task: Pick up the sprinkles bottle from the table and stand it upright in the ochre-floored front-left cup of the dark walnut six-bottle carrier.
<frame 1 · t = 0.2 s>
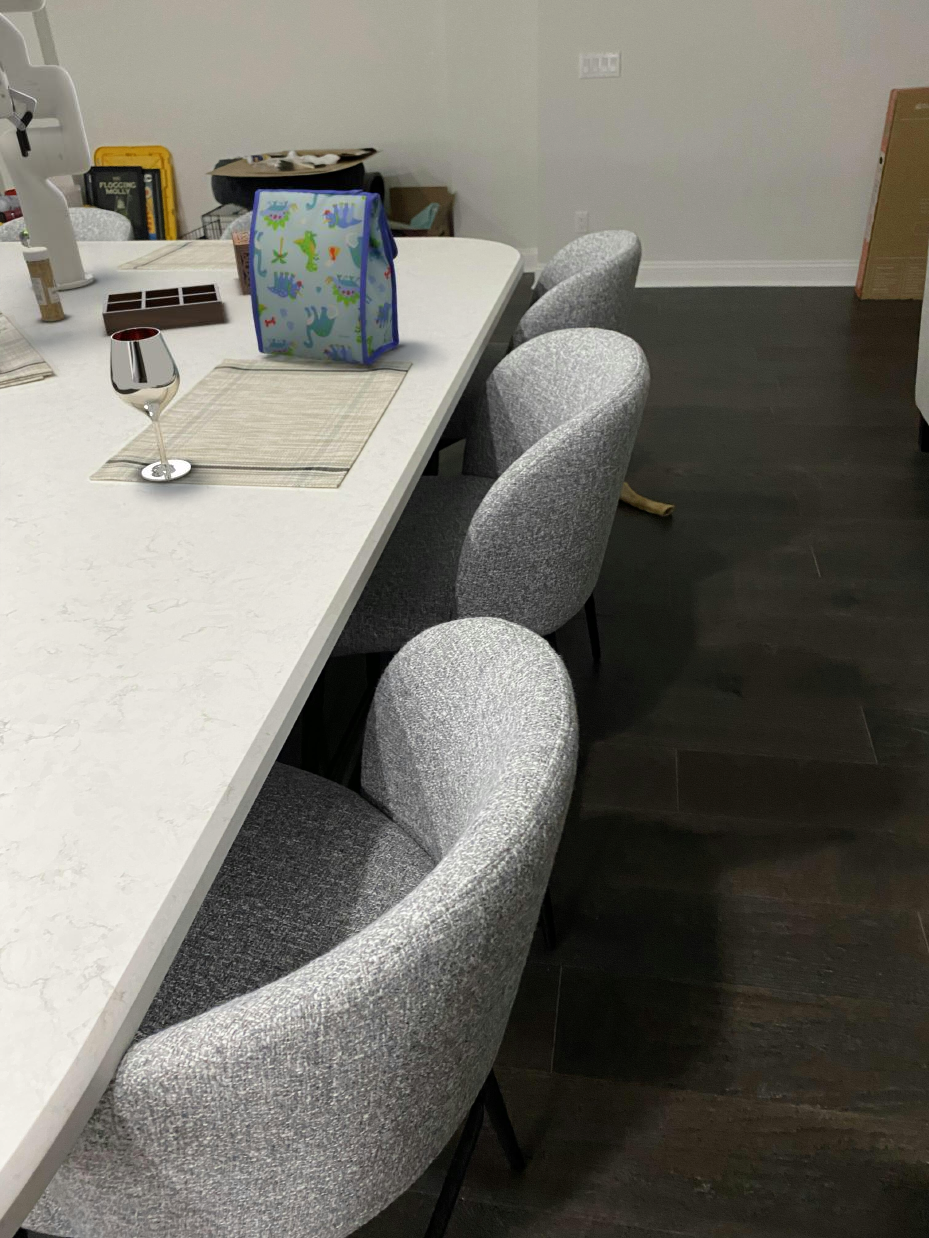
carrier: (166, 318, 183), on the table
tissue box cover: (299, 281, 206), on the table
wineglass: (167, 472, 122), on the table
lunch bag: (332, 351, 163), on the table
sprinkles bottle: (53, 320, 186), on the table
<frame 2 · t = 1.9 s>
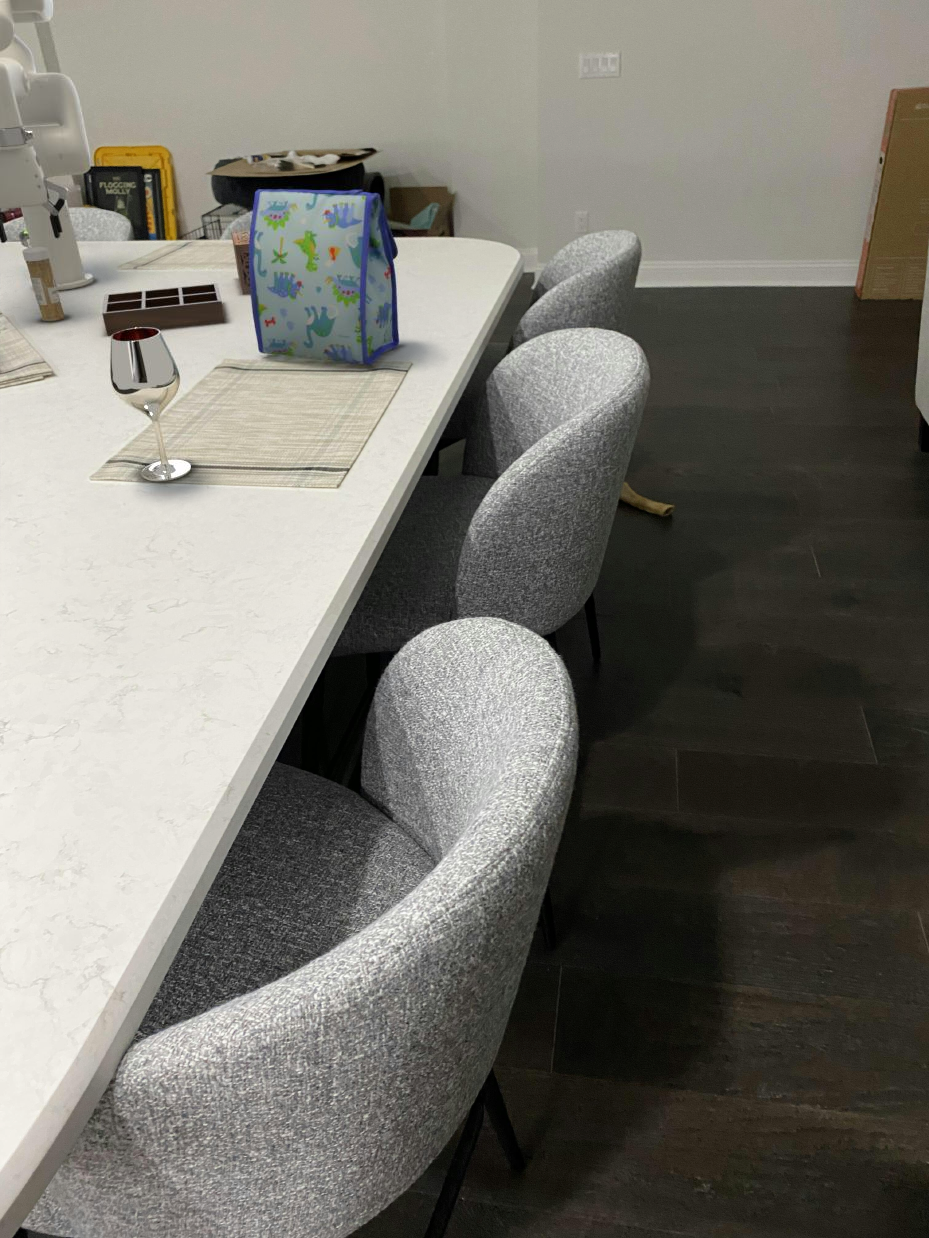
hand: (31, 239, 177), 15 cm above the table, tool pointing down, fingers open, 9 cm apart
nothing on the table moved.
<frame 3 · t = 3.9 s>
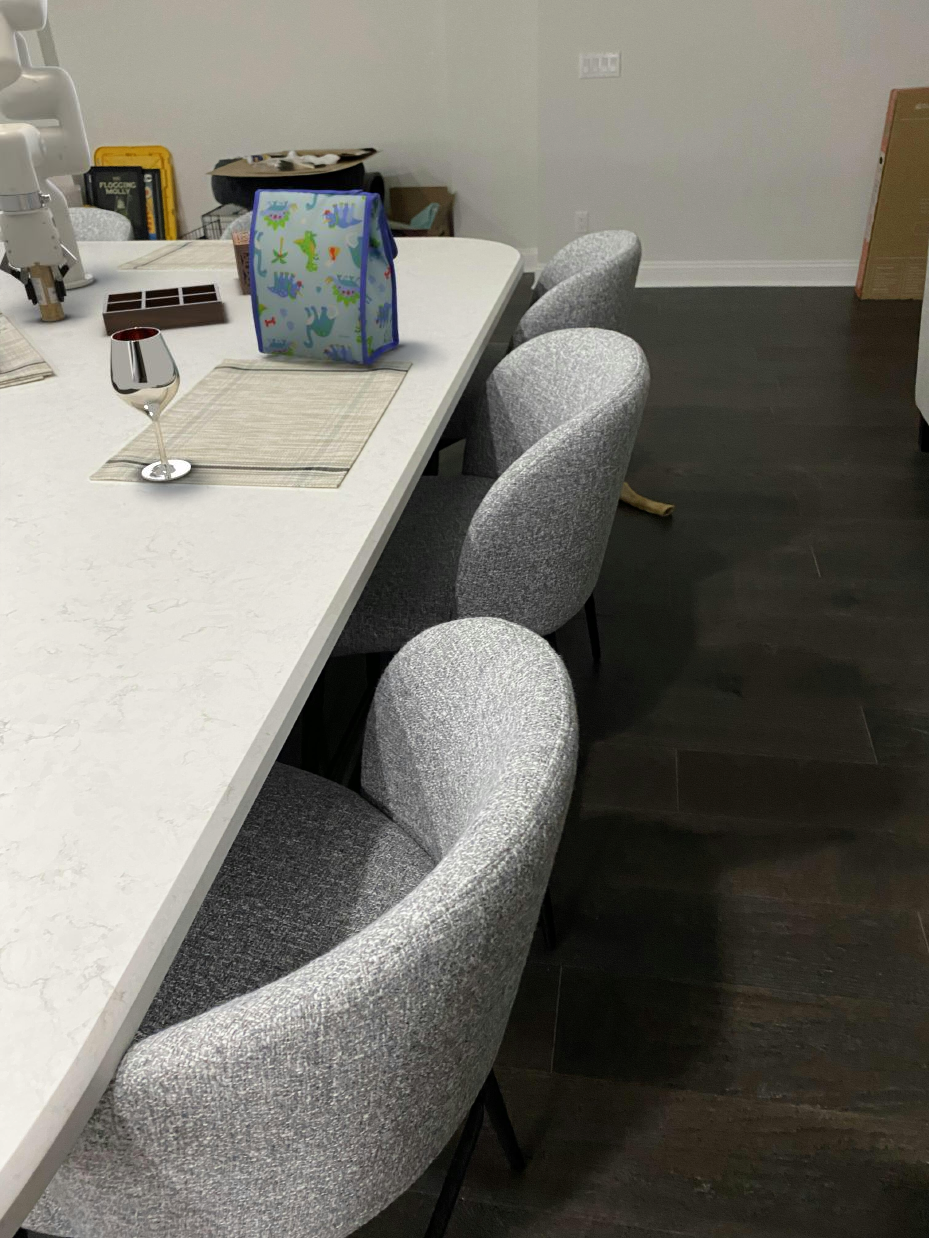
hand: (48, 301, 184), 4 cm above the table, tool pointing down, fingers closed on sprinkles bottle, 4 cm apart
sprinkles bottle: (54, 320, 186), on the table, touching gripper
everything else where it was.
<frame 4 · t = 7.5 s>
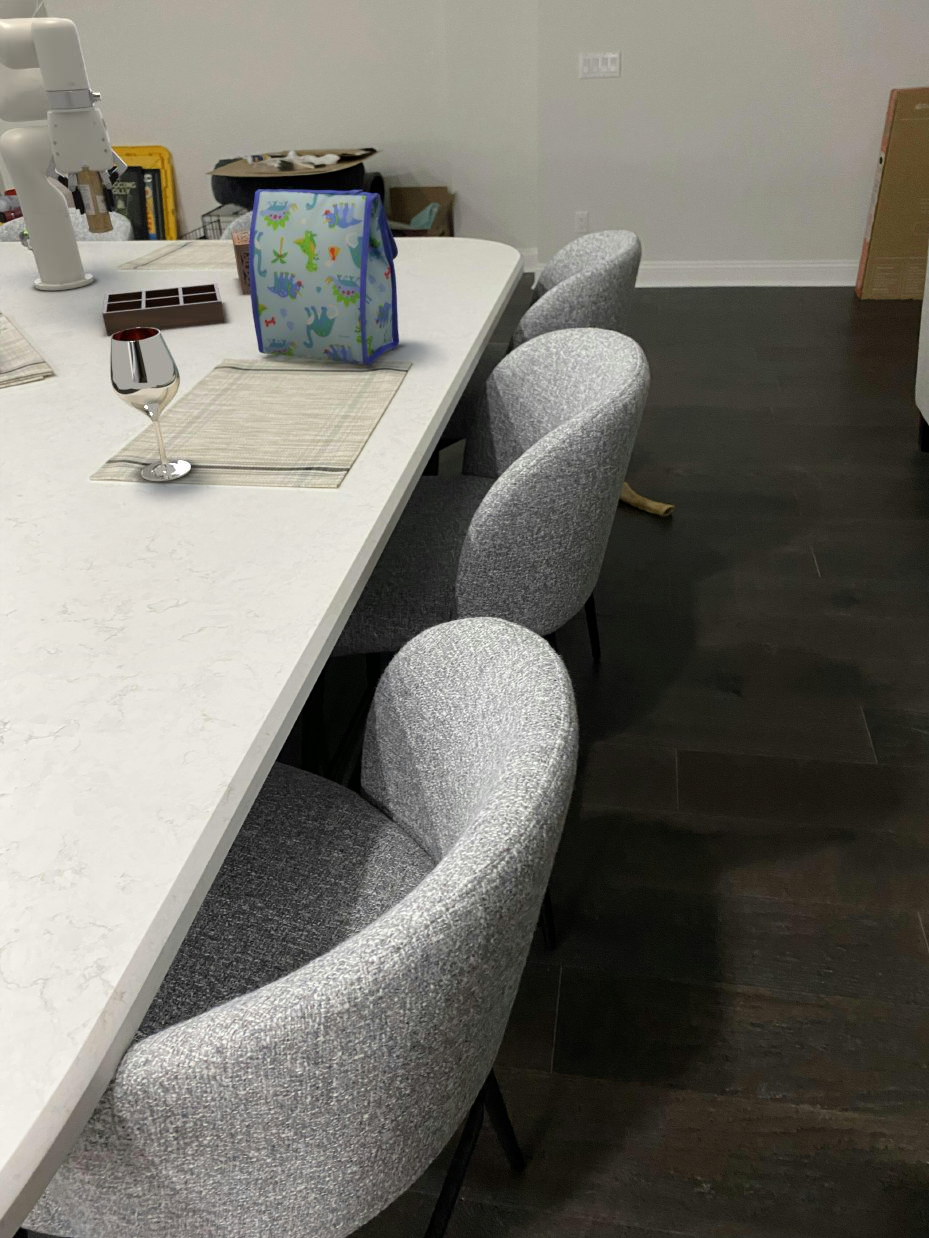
hand: (96, 211, 174), 20 cm above the table, tool pointing down, fingers closed on sprinkles bottle, 4 cm apart
sprinkles bottle: (101, 232, 176), point 16 cm above the table, touching gripper
everything else where it was.
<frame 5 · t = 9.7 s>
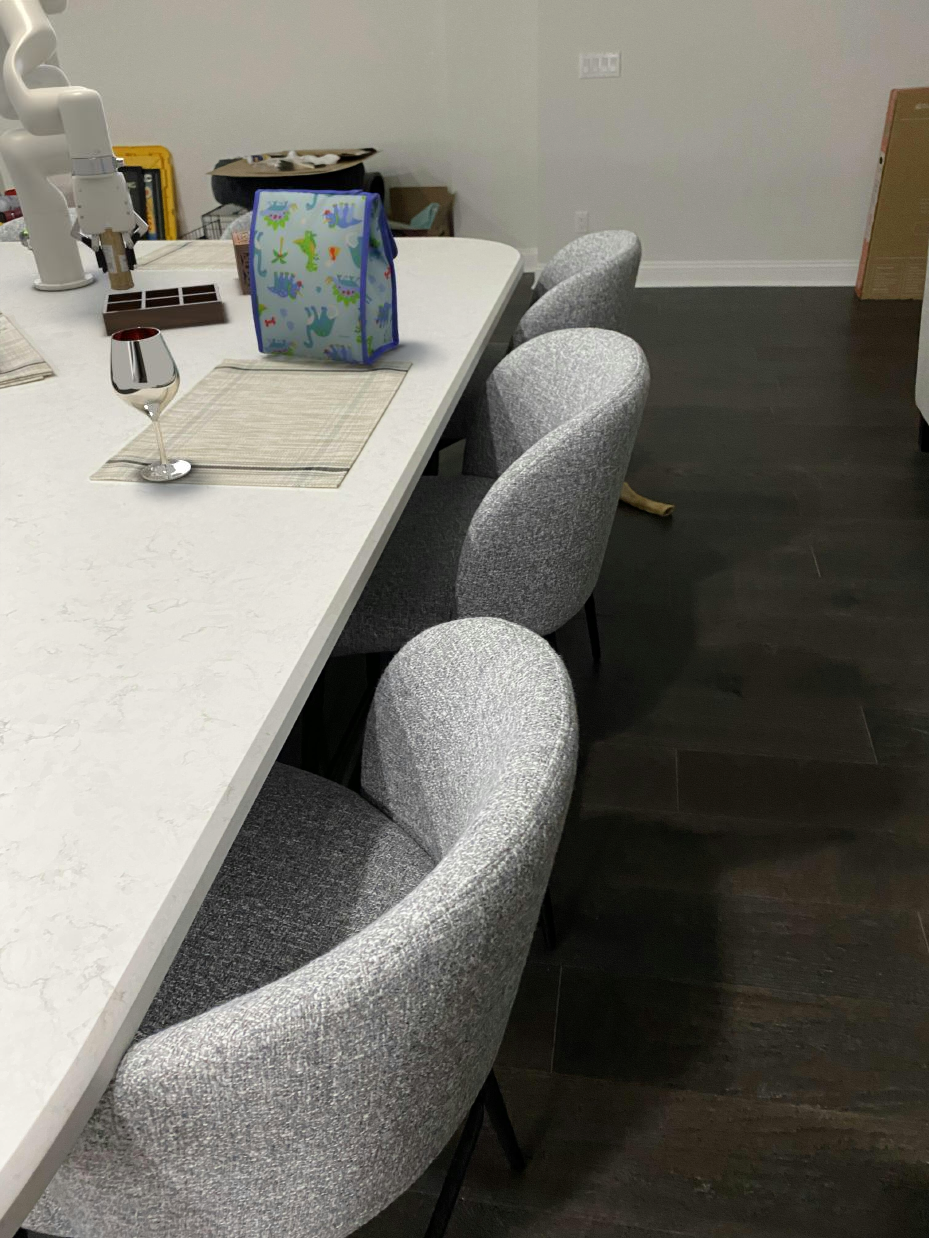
hand: (118, 269, 179), 9 cm above the table, tool pointing down, fingers closed on sprinkles bottle, 4 cm apart
sprinkles bottle: (123, 289, 182), point 6 cm above the table, touching gripper
everything else where it was.
when the fingers open (4 cm above the table, at t = 11.2 s): sprinkles bottle stays where it is, resting on carrier.
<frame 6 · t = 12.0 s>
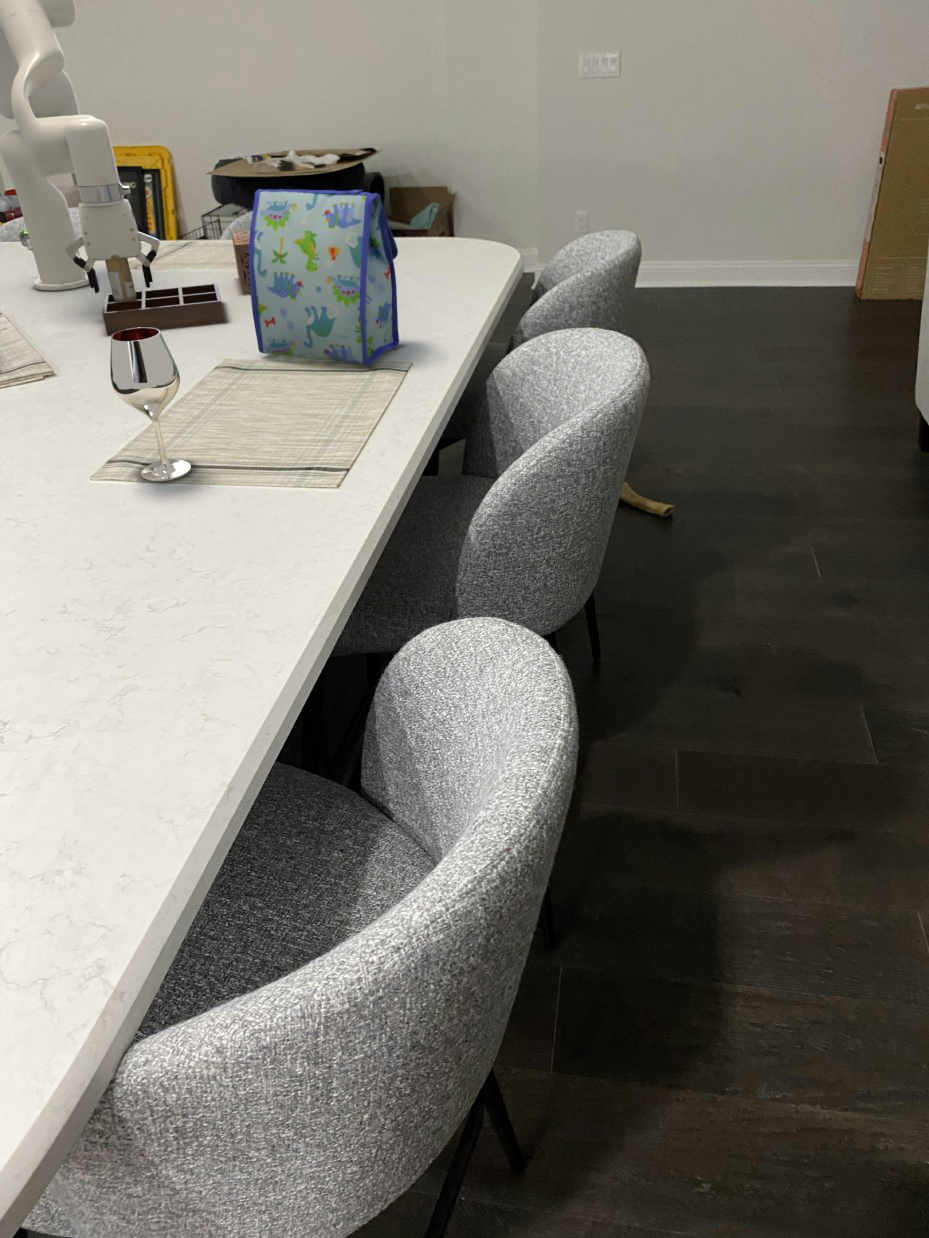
hand: (123, 289, 182), 6 cm above the table, tool pointing down, fingers open, 9 cm apart
sprinkles bottle: (129, 315, 184), point 1 cm above the table, touching carrier
everything else where it was.
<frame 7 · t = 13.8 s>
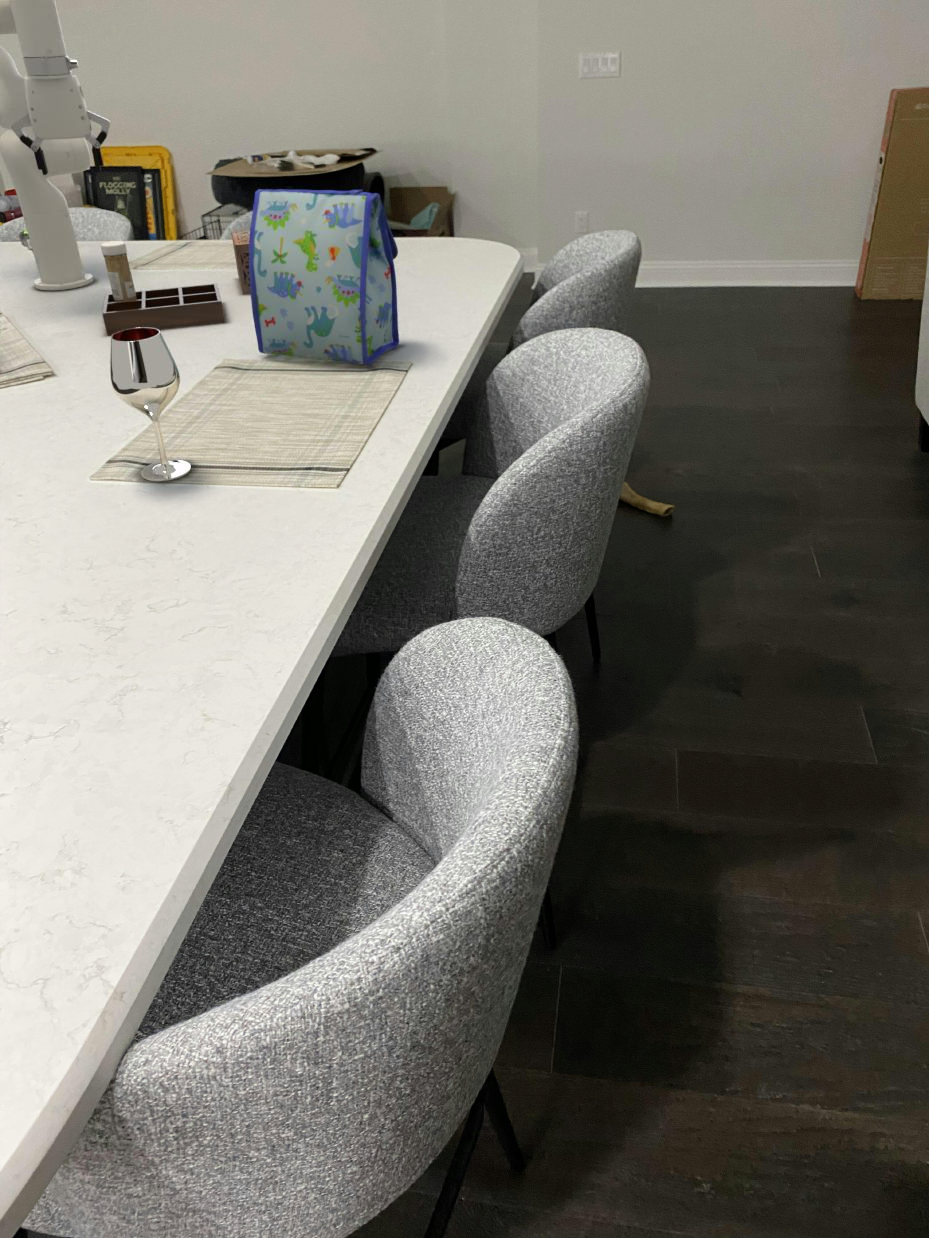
hand: (72, 172, 176), 26 cm above the table, tool pointing down, fingers open, 9 cm apart
nothing on the table moved.
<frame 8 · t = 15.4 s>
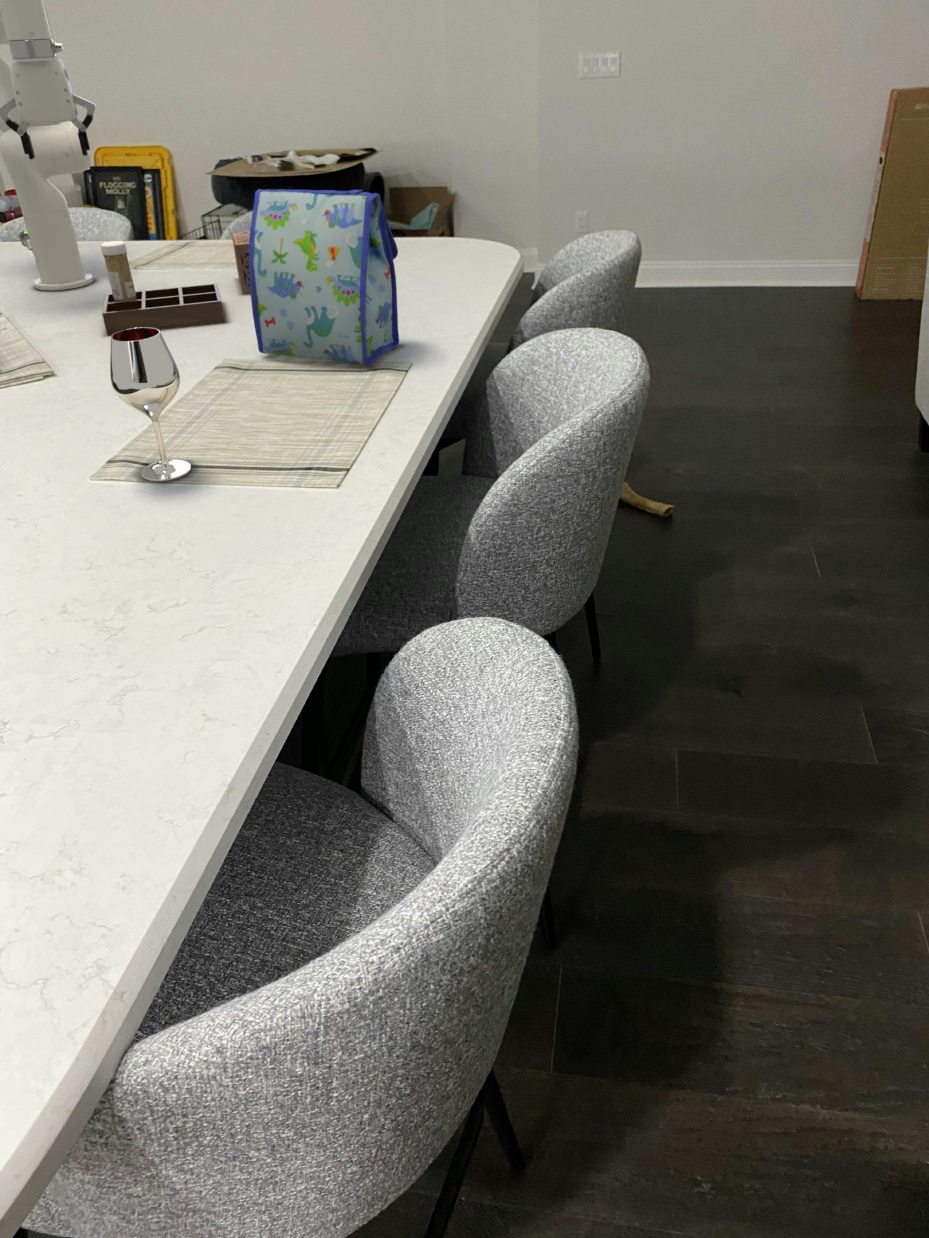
hand: (59, 156, 177), 28 cm above the table, tool pointing down, fingers open, 9 cm apart
nothing on the table moved.
at the end: sprinkles bottle 0.1 cm from the target spot in the carrier, point 0.6 cm above the carrier's base; sprinkles bottle tilted 0°; the gripper is holding nothing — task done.
